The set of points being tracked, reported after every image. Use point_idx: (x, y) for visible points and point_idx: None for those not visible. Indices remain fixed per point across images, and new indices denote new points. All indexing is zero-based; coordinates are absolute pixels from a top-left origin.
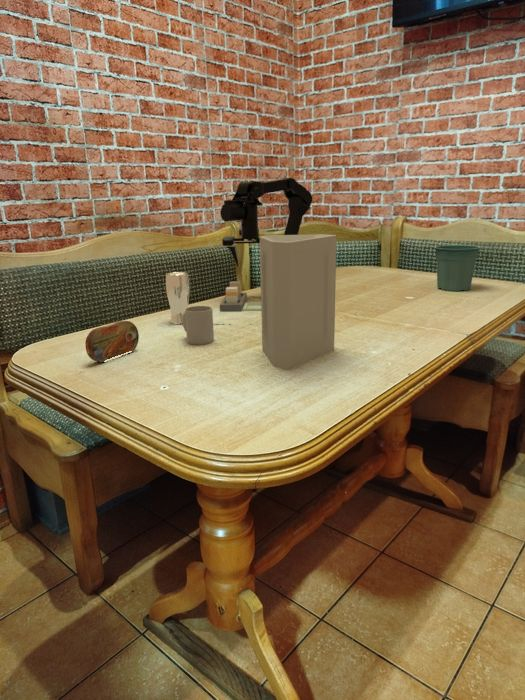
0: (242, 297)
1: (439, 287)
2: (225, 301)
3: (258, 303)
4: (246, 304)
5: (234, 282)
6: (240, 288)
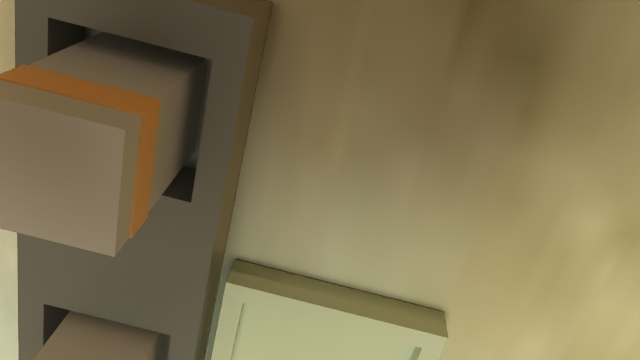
0: (192, 250)
1: None
2: (47, 313)
3: (333, 323)
4: (229, 339)
5: (37, 201)
6: (149, 194)
